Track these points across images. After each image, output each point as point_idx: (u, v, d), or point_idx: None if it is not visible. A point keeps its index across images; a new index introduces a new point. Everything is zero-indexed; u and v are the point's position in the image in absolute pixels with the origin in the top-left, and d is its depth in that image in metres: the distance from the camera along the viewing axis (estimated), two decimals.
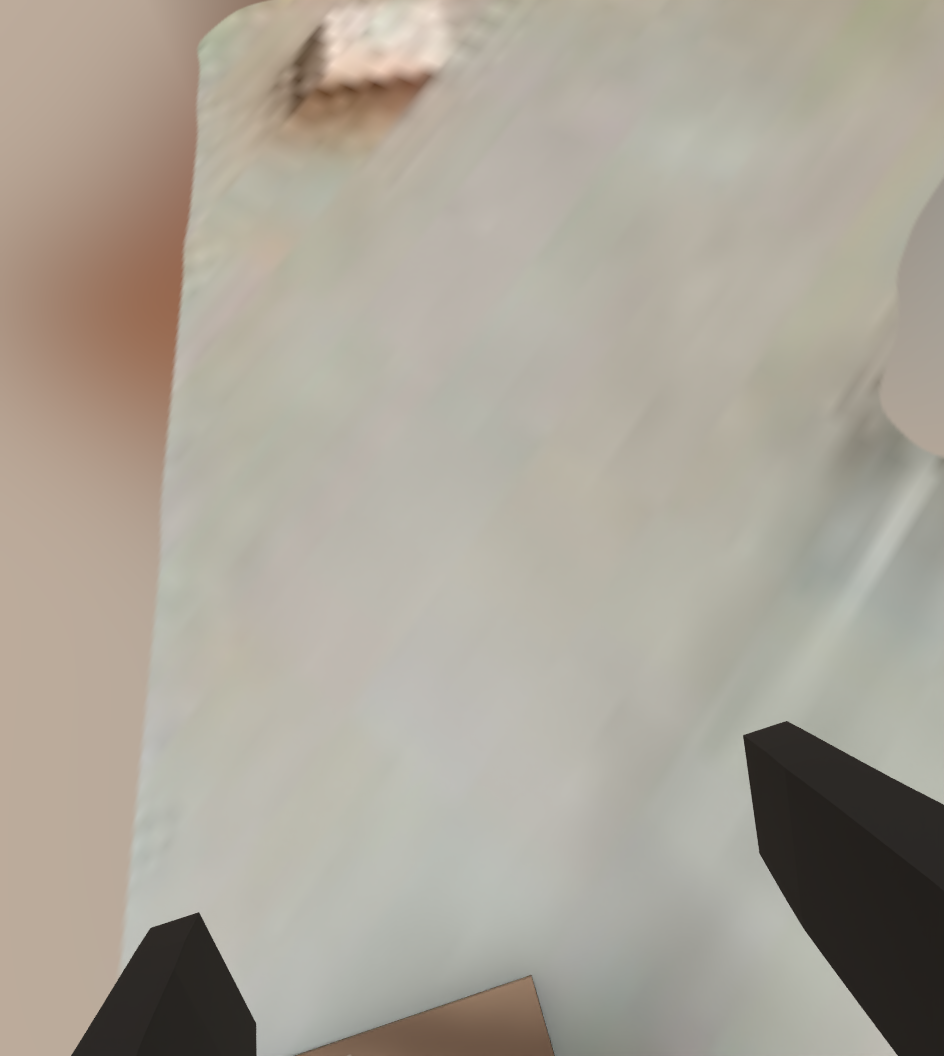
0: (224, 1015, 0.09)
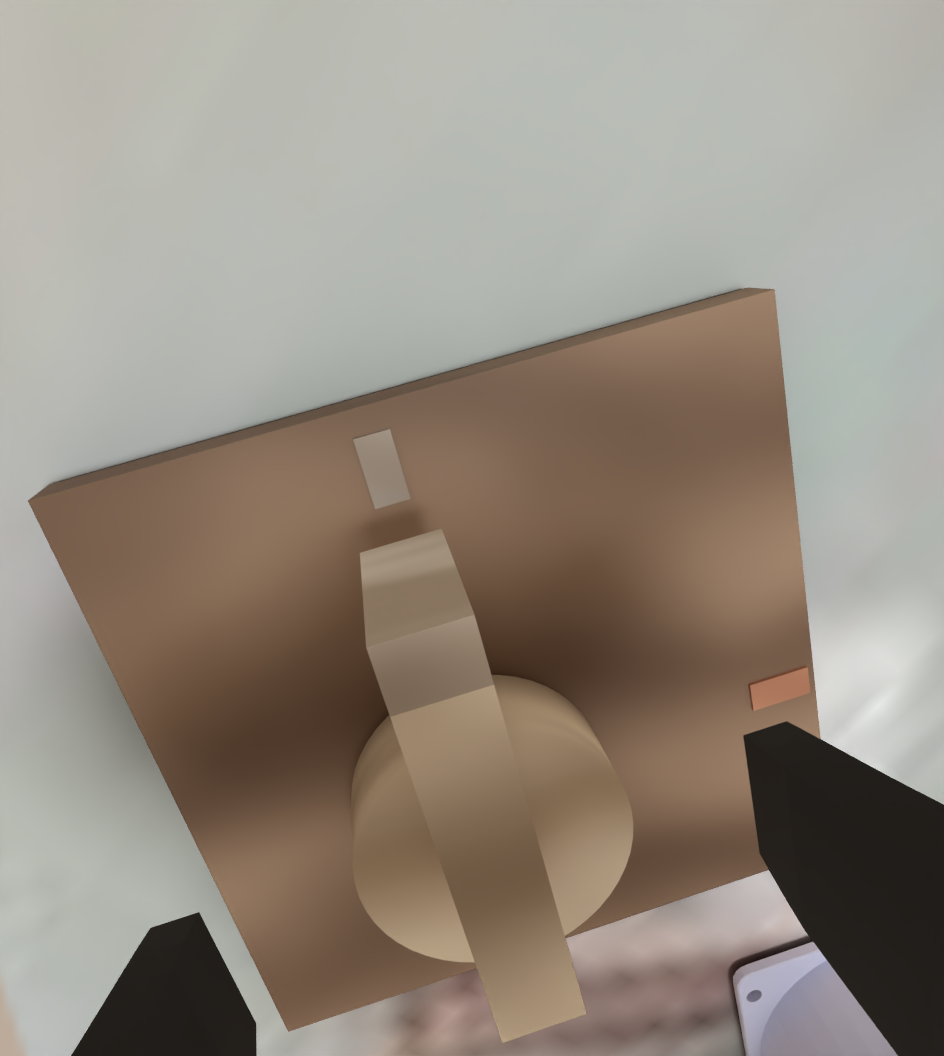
0: (224, 1015, 0.09)
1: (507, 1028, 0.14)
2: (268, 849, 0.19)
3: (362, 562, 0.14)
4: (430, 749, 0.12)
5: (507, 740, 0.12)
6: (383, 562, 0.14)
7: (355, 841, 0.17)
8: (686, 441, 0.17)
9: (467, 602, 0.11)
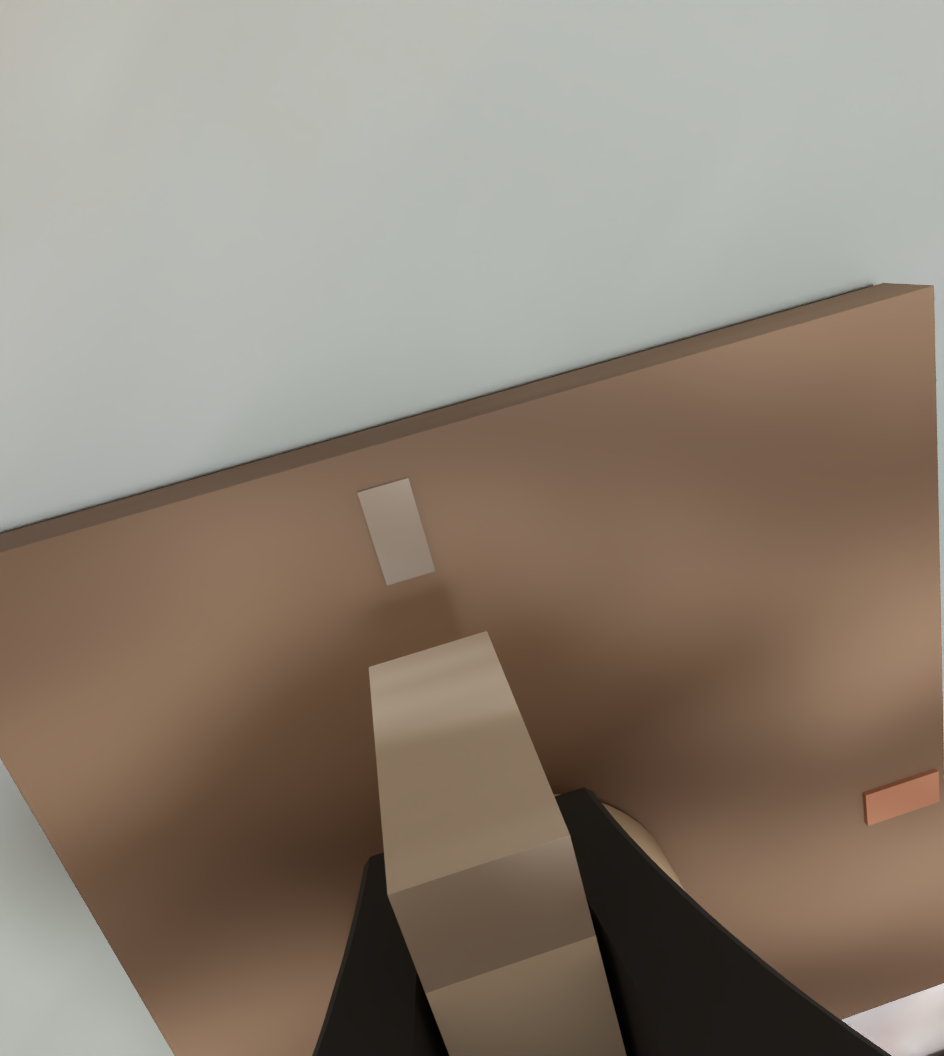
0: None
1: None
2: (244, 1014, 0.15)
3: (373, 687, 0.09)
4: (489, 1035, 0.07)
5: (611, 1012, 0.07)
6: (405, 692, 0.09)
7: None
8: (805, 490, 0.13)
9: (552, 801, 0.07)
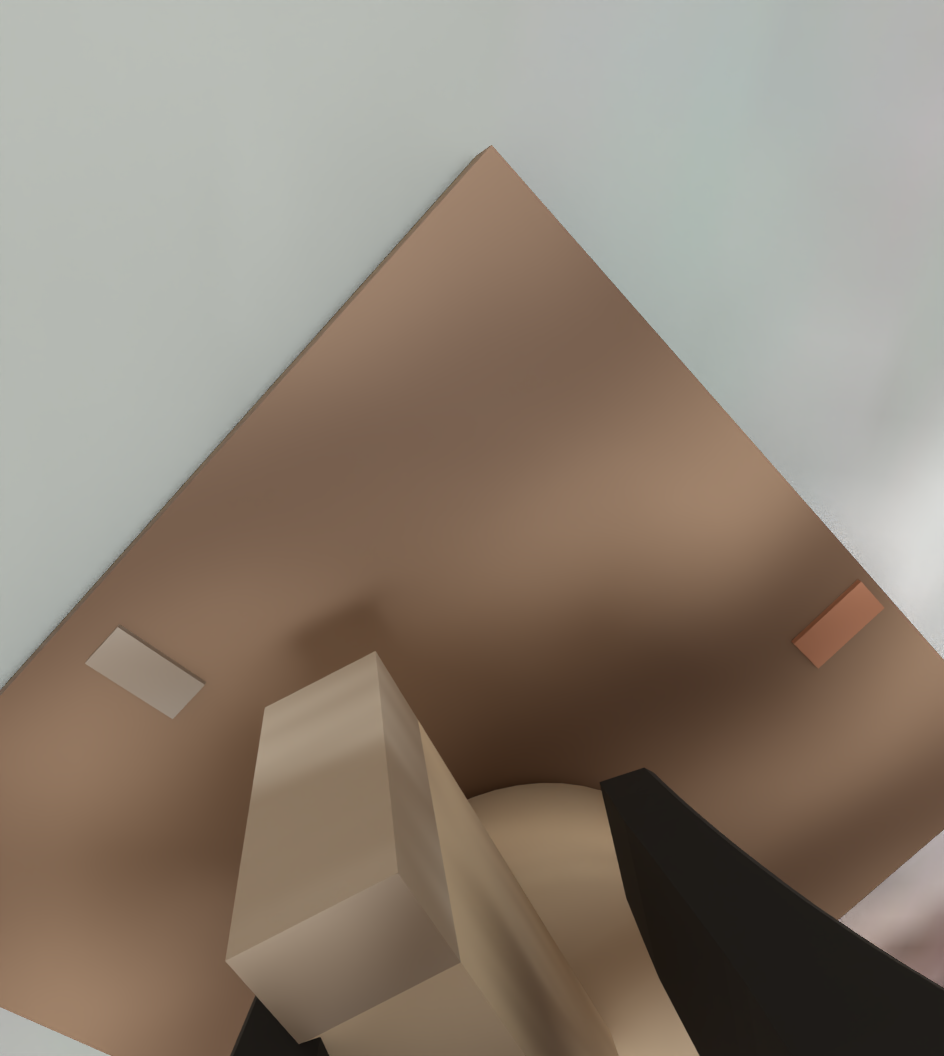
0: None
1: None
2: None
3: (263, 730, 0.09)
4: None
5: (504, 1031, 0.07)
6: (289, 730, 0.09)
7: None
8: (506, 414, 0.12)
9: (390, 836, 0.07)
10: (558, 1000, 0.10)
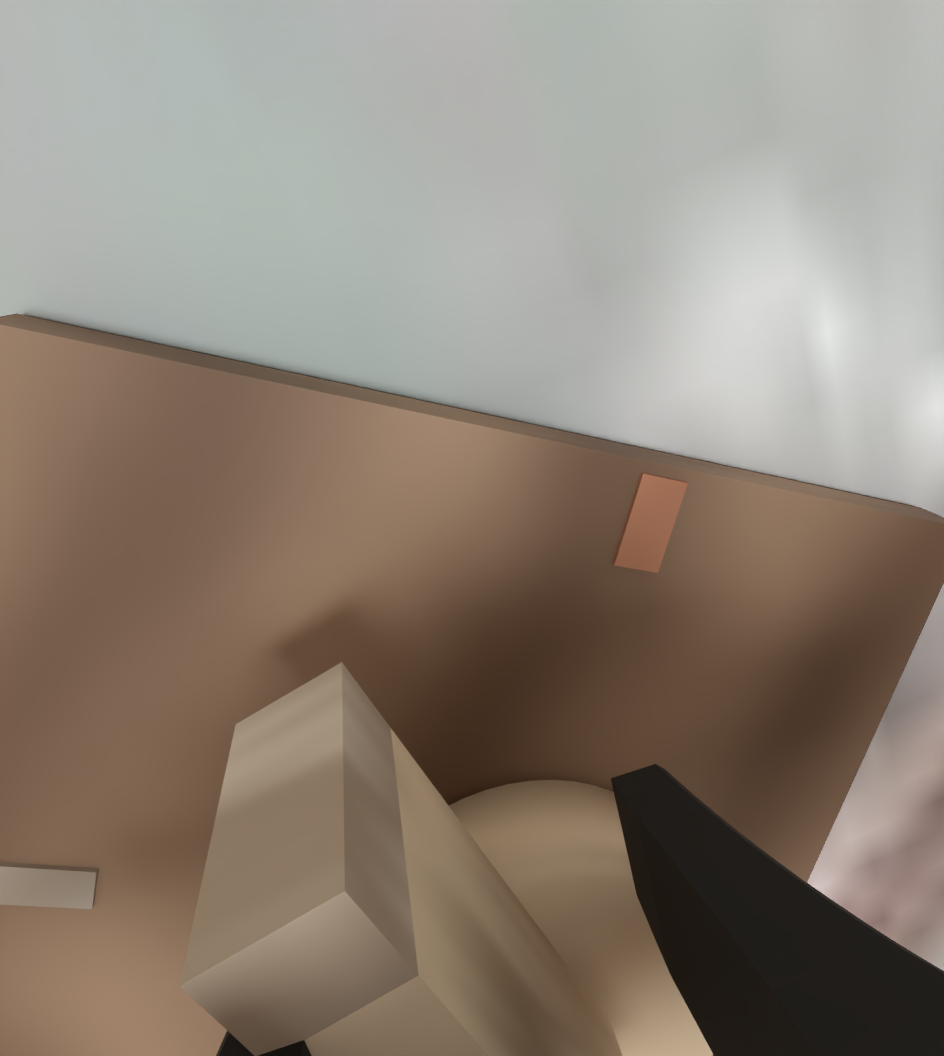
0: None
1: None
2: None
3: (232, 747, 0.09)
4: None
5: (470, 1041, 0.07)
6: (256, 748, 0.09)
7: None
8: (178, 529, 0.11)
9: (340, 853, 0.07)
10: (545, 1000, 0.10)
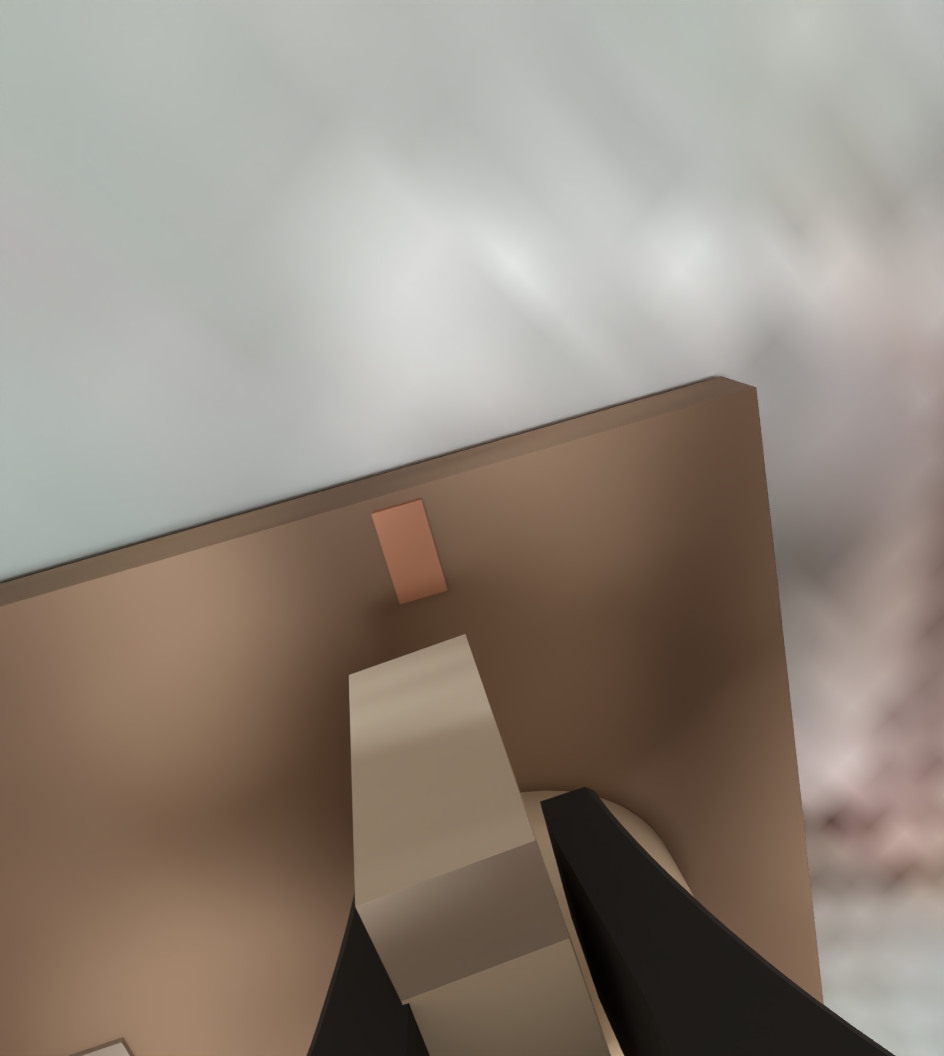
0: None
1: None
2: None
3: (352, 695, 0.09)
4: (468, 1039, 0.07)
5: (591, 1013, 0.07)
6: (383, 699, 0.09)
7: None
8: None
9: (520, 806, 0.07)
10: None
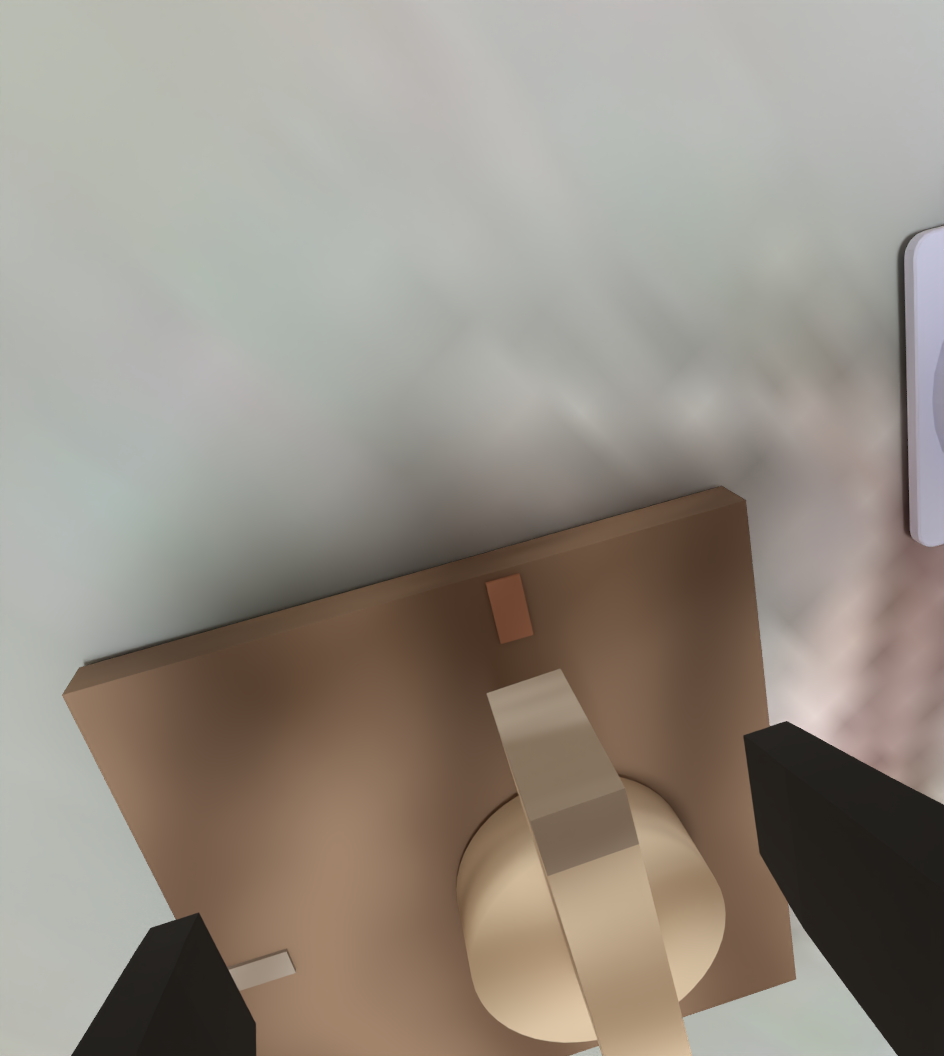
0: (224, 1015, 0.09)
1: None
2: None
3: (493, 707, 0.15)
4: (580, 900, 0.13)
5: (648, 889, 0.13)
6: (514, 709, 0.15)
7: (473, 941, 0.18)
8: (224, 748, 0.18)
9: (613, 771, 0.13)
10: None
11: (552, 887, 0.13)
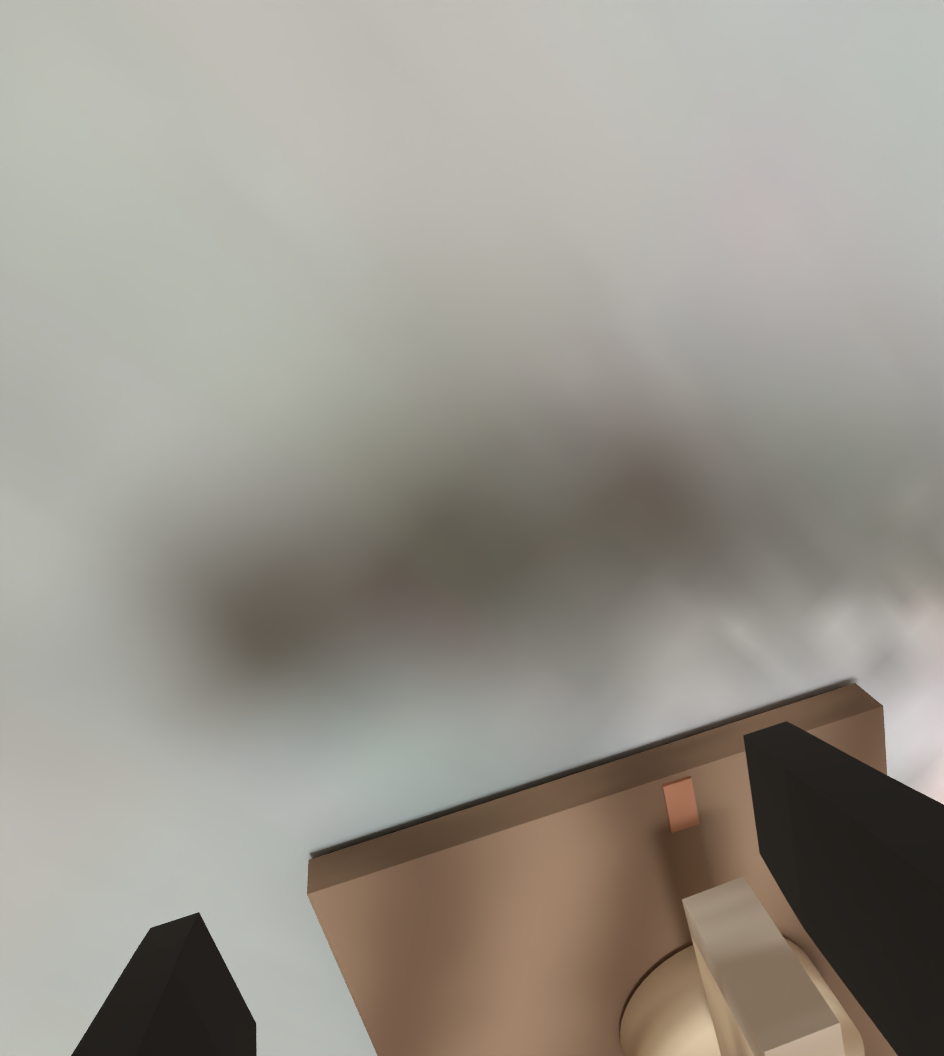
0: (225, 1015, 0.09)
1: None
2: None
3: (692, 916, 0.18)
4: None
5: None
6: (713, 921, 0.18)
7: None
8: (435, 927, 0.21)
9: (824, 1002, 0.15)
10: None
11: None
